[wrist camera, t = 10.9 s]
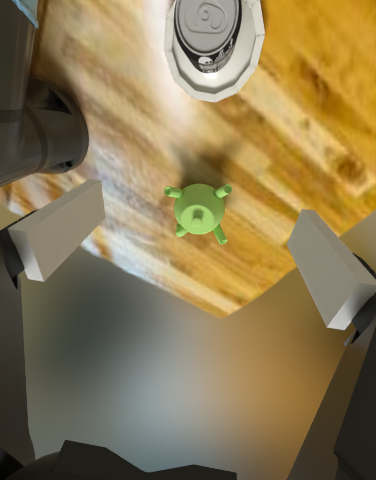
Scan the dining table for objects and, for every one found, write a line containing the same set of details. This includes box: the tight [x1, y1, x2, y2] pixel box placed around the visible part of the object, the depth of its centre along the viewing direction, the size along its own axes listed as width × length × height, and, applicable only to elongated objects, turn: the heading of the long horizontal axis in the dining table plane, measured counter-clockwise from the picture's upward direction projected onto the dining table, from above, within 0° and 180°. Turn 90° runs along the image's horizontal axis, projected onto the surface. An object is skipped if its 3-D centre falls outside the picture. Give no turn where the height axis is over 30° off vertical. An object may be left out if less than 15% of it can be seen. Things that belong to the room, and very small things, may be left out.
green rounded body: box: [164, 184, 232, 244], centre depth 40 cm, size 11×12×8 cm
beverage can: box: [174, 0, 242, 74], centre depth 24 cm, size 7×7×12 cm
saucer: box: [164, 0, 265, 102], centre depth 30 cm, size 13×13×2 cm
